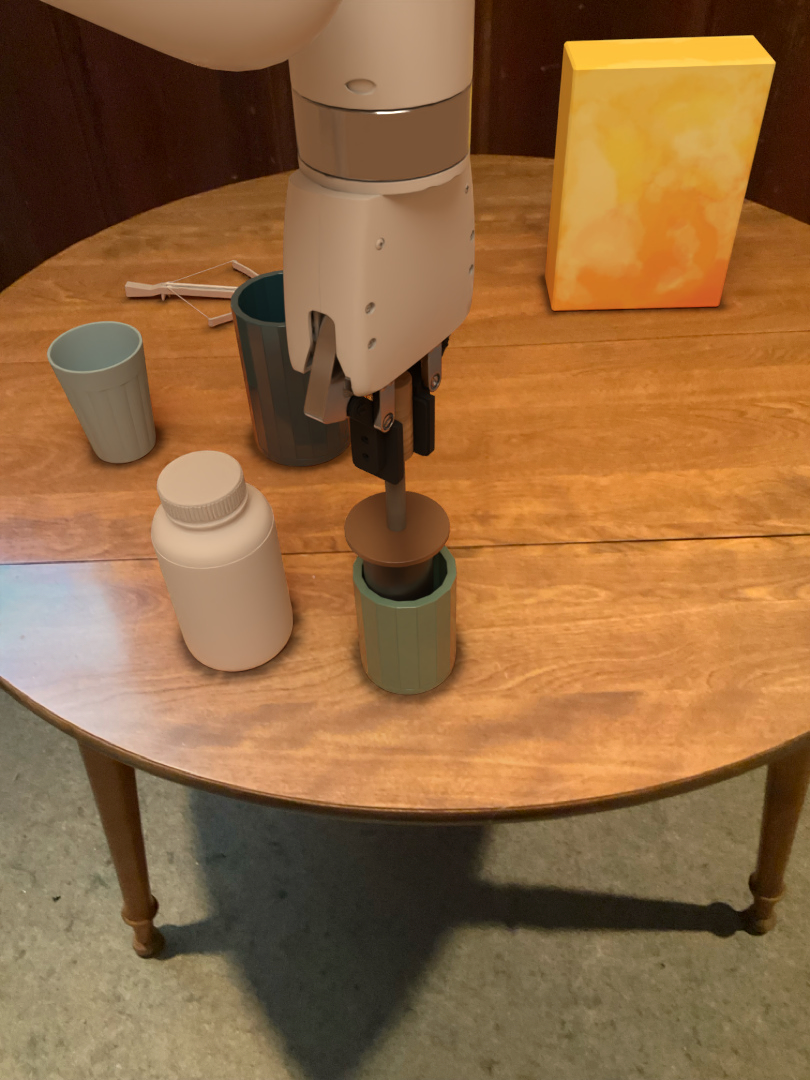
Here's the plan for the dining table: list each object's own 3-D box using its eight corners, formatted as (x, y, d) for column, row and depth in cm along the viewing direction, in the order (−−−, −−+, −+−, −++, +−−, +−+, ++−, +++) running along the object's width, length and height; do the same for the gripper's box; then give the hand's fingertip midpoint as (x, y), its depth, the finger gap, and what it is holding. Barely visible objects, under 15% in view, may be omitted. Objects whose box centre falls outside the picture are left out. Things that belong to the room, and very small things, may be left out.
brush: (375, 667, 59) (358, 427, 46) (338, 600, 63) (312, 362, 50) (465, 633, 61) (473, 393, 47) (422, 570, 65) (419, 333, 52)
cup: (66, 467, 81) (29, 367, 74) (103, 415, 87) (72, 317, 79) (147, 476, 80) (117, 376, 73) (180, 423, 85) (155, 324, 78)
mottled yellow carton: (693, 250, 106) (740, 17, 89) (719, 307, 97) (777, 60, 80) (539, 255, 106) (557, 23, 89) (551, 312, 97) (574, 67, 80)
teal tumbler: (274, 478, 79) (249, 337, 70) (243, 422, 85) (217, 284, 75) (368, 449, 82) (358, 309, 72) (332, 396, 88) (318, 260, 78)
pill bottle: (162, 635, 67) (109, 480, 57) (246, 575, 71) (212, 419, 61) (231, 695, 63) (188, 539, 53) (317, 627, 67) (293, 470, 57)
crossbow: (282, 275, 106) (280, 259, 104) (263, 336, 97) (261, 319, 95) (143, 267, 106) (140, 250, 105) (111, 326, 97) (108, 309, 96)
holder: (384, 708, 62) (377, 621, 56) (347, 639, 67) (337, 551, 60) (471, 674, 64) (474, 586, 58) (430, 609, 68) (429, 521, 62)
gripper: (418, 58, 46) (420, 372, 59) (186, 169, 37) (248, 512, 49) (552, 87, 43) (523, 412, 55) (334, 216, 33) (359, 570, 46)
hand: (393, 457), depth 52 cm, fingers closed on brush
